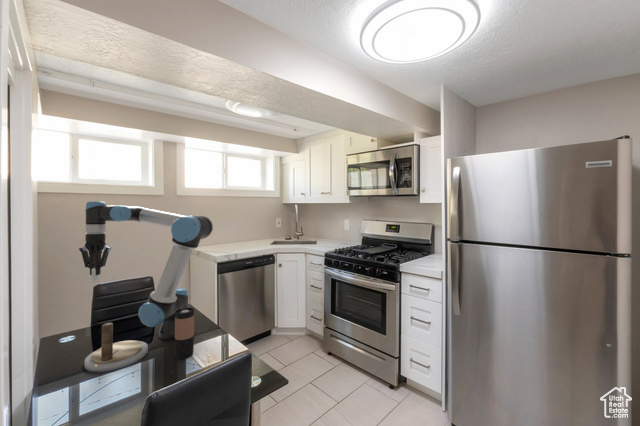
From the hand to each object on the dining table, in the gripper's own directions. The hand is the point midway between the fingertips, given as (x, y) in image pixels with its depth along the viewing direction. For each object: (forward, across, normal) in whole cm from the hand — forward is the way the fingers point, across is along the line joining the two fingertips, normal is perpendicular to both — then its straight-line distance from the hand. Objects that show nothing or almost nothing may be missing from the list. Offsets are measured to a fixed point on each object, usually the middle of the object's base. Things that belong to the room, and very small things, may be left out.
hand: (95, 281), depth 132 cm
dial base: (+29, -19, +17) cm, 39 cm away
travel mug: (+30, -47, +20) cm, 59 cm away
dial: (+27, -19, +17) cm, 37 cm away
